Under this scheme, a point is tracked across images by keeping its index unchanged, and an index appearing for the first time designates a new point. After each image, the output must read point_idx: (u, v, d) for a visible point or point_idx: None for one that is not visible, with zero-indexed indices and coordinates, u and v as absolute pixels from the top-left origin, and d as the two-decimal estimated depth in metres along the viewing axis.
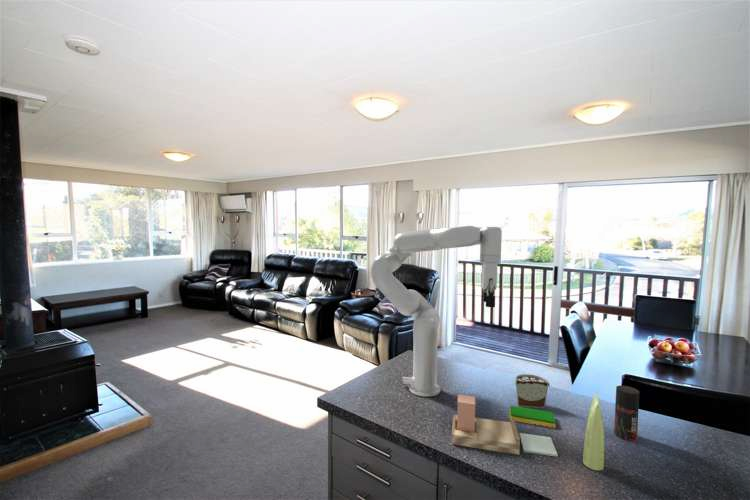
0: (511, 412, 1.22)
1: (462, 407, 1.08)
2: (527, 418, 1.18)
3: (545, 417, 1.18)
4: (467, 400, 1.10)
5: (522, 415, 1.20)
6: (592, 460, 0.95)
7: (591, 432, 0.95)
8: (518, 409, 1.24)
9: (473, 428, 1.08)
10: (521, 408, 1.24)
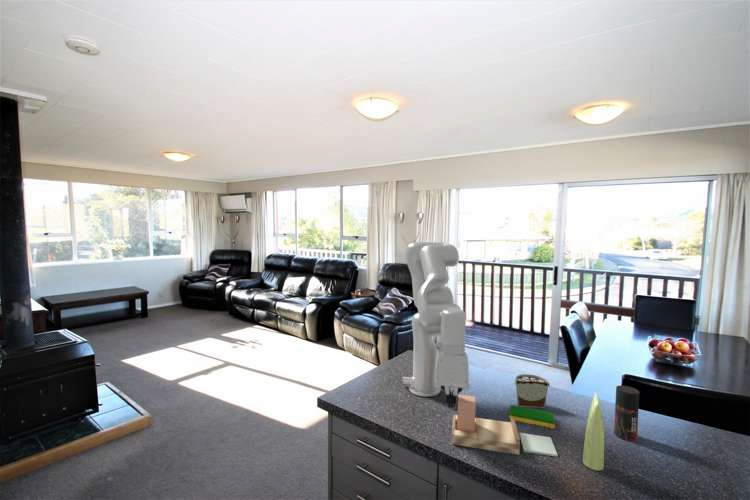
0: (511, 411, 1.22)
1: (462, 407, 1.08)
2: (526, 418, 1.19)
3: (545, 417, 1.18)
4: (467, 400, 1.10)
5: (521, 415, 1.20)
6: (592, 460, 0.95)
7: (591, 432, 0.95)
8: (518, 409, 1.24)
9: (473, 428, 1.08)
10: (521, 408, 1.25)
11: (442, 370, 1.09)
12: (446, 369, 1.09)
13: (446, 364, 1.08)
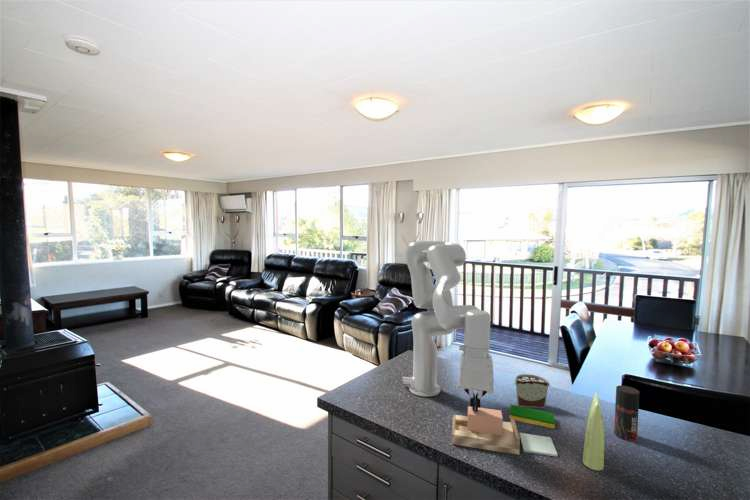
0: (510, 411, 1.22)
1: (497, 422, 1.06)
2: (525, 418, 1.19)
3: (545, 418, 1.18)
4: None
5: (521, 414, 1.20)
6: (592, 460, 0.95)
7: (591, 432, 0.95)
8: (518, 409, 1.24)
9: (475, 431, 1.07)
10: (522, 408, 1.25)
11: (466, 373, 1.07)
12: (470, 372, 1.07)
13: (470, 367, 1.07)
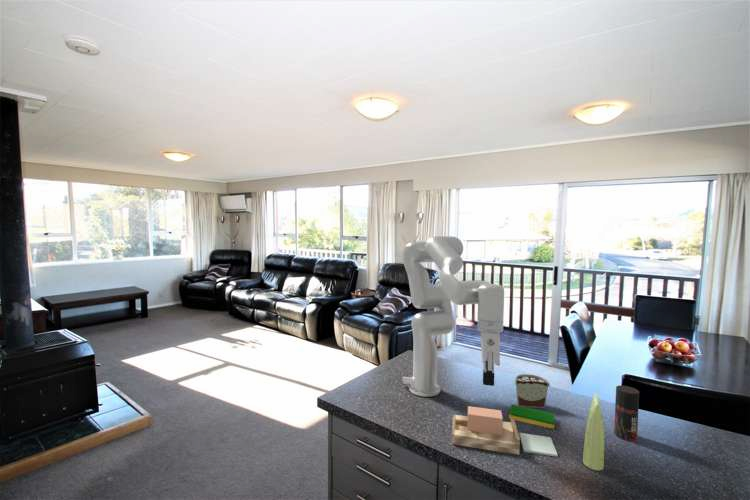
0: (510, 411, 1.22)
1: (497, 422, 1.06)
2: (525, 418, 1.19)
3: (545, 418, 1.18)
4: None
5: (521, 414, 1.20)
6: (592, 460, 0.95)
7: (591, 432, 0.95)
8: (518, 408, 1.24)
9: (475, 431, 1.07)
10: (522, 408, 1.25)
11: None
12: None
13: None
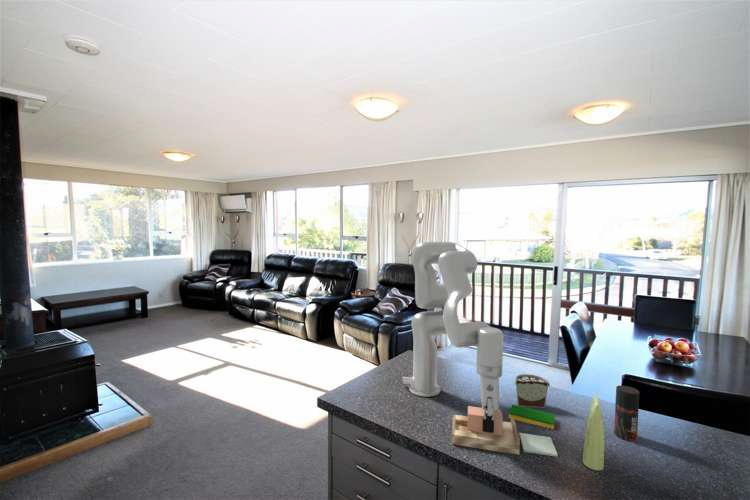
0: (510, 410, 1.23)
1: (497, 422, 1.06)
2: (524, 417, 1.19)
3: (544, 418, 1.18)
4: None
5: (520, 414, 1.20)
6: (592, 460, 0.95)
7: (591, 432, 0.95)
8: (519, 408, 1.24)
9: (475, 430, 1.07)
10: (522, 408, 1.25)
11: None
12: None
13: None
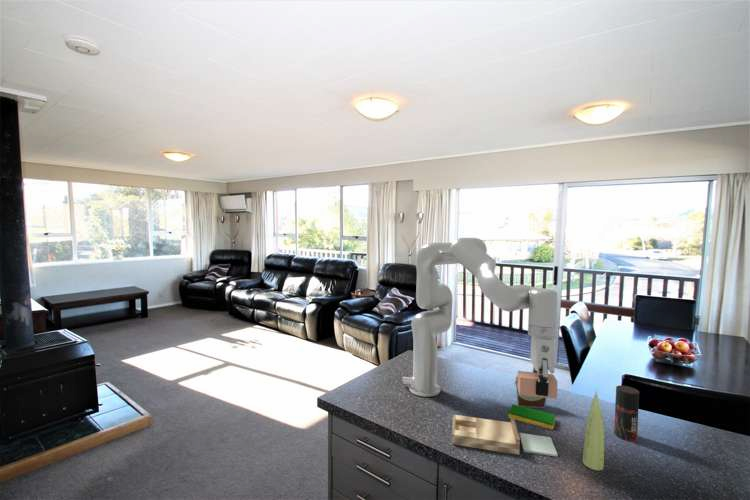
0: (510, 410, 1.23)
1: (551, 385, 1.02)
2: (524, 417, 1.19)
3: (544, 418, 1.18)
4: None
5: (520, 414, 1.20)
6: (592, 460, 0.95)
7: (591, 432, 0.95)
8: (519, 408, 1.24)
9: (528, 394, 1.04)
10: (523, 408, 1.25)
11: None
12: None
13: None
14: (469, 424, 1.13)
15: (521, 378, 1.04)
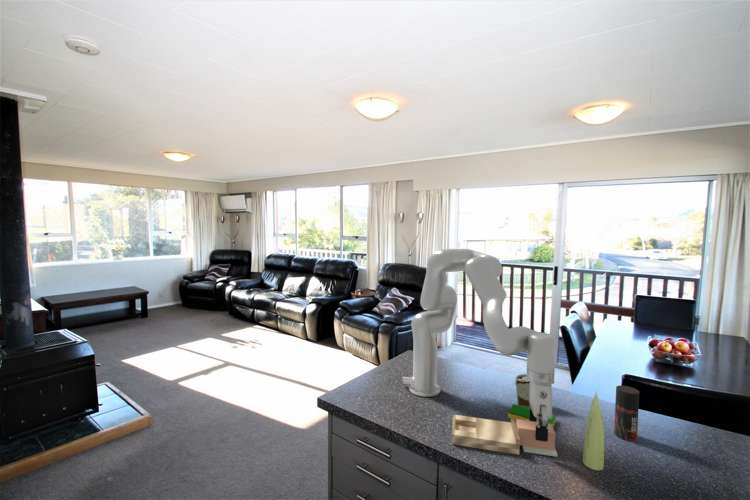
0: (510, 409, 1.23)
1: (549, 437, 1.03)
2: (524, 417, 1.19)
3: None
4: None
5: (520, 413, 1.21)
6: (592, 460, 0.95)
7: (591, 432, 0.95)
8: (519, 408, 1.25)
9: (526, 445, 1.04)
10: (523, 407, 1.25)
11: None
12: None
13: None
14: (469, 424, 1.13)
15: (519, 429, 1.05)
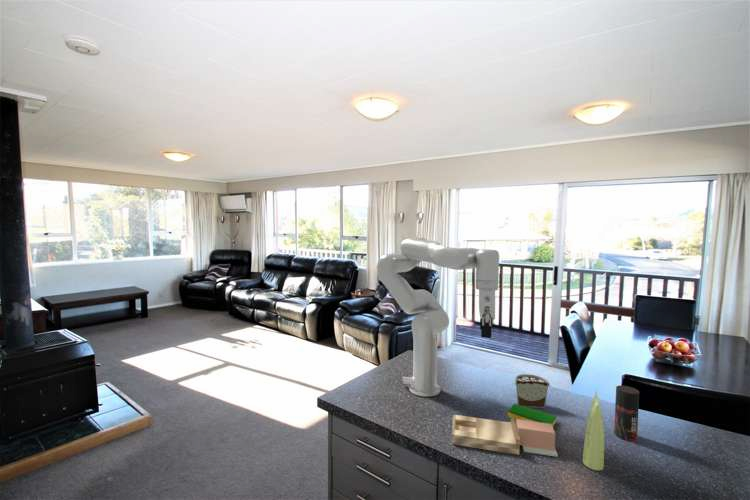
0: (510, 409, 1.24)
1: (549, 437, 1.03)
2: (523, 417, 1.19)
3: (543, 419, 1.17)
4: None
5: (519, 413, 1.21)
6: (592, 460, 0.95)
7: (591, 432, 0.95)
8: (520, 408, 1.25)
9: (526, 445, 1.04)
10: (524, 407, 1.25)
11: None
12: None
13: None
14: (469, 424, 1.13)
15: (519, 429, 1.05)
